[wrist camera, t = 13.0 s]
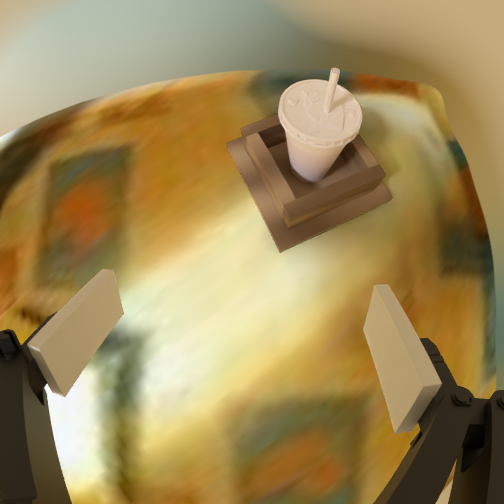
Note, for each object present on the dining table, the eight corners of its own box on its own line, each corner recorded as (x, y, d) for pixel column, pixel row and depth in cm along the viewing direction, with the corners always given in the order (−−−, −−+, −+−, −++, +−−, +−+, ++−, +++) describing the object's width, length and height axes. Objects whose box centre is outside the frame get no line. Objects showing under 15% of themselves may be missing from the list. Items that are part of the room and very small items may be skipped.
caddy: (226, 147, 31) (220, 123, 27) (328, 109, 31) (334, 84, 27) (280, 252, 28) (281, 241, 24) (389, 200, 28) (406, 183, 24)
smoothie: (300, 207, 28) (320, 116, 14) (265, 157, 29) (258, 53, 16) (351, 177, 28) (398, 85, 15) (315, 132, 30) (335, 30, 16)
